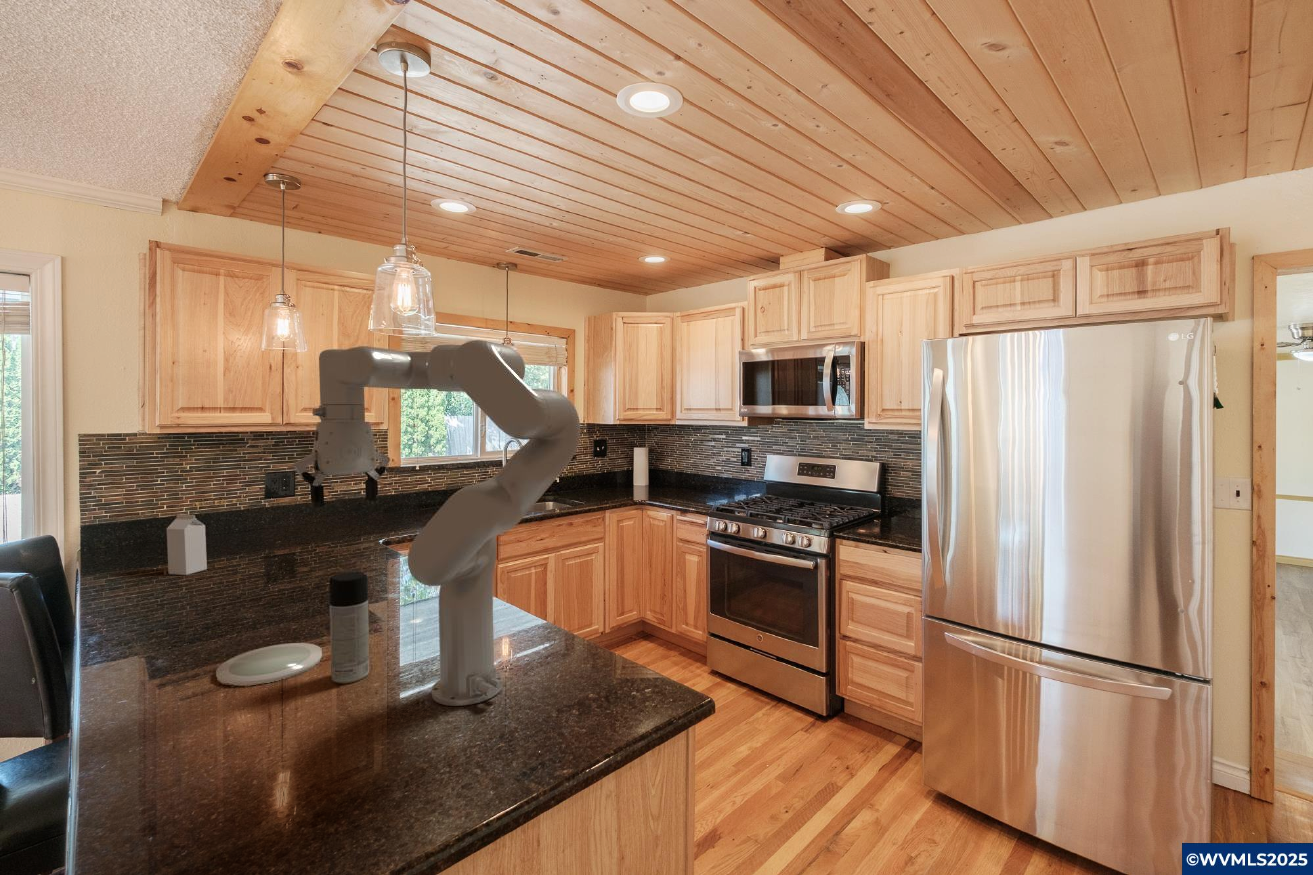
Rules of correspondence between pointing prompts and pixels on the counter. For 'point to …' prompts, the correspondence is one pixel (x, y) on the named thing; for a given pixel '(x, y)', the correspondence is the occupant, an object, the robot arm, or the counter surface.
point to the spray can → (349, 627)
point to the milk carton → (186, 545)
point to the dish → (269, 664)
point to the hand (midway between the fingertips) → (345, 503)
